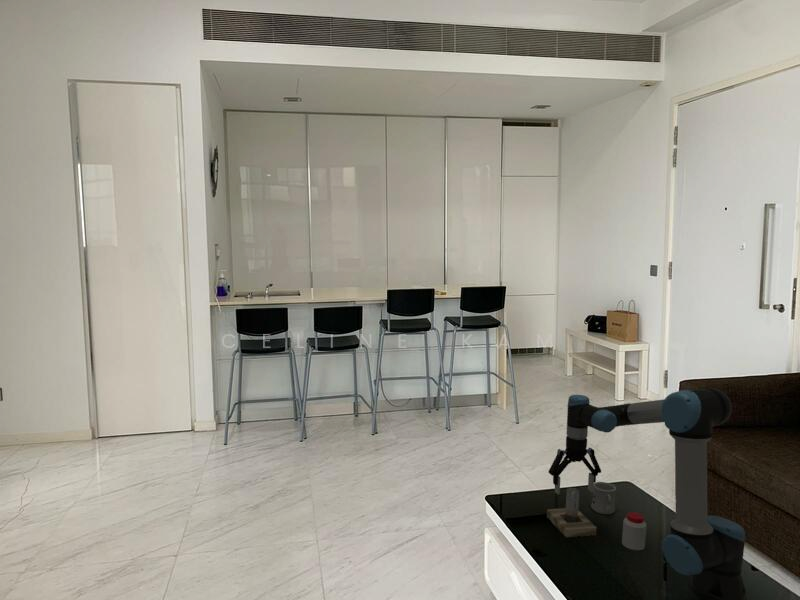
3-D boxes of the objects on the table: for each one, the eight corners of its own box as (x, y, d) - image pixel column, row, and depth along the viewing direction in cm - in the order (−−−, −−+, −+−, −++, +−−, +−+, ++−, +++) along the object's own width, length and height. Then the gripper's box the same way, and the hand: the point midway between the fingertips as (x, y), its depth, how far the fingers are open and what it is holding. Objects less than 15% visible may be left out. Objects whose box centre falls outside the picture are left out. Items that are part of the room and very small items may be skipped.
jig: (596, 535, 219) (596, 527, 218) (565, 537, 216) (566, 529, 216) (575, 514, 234) (575, 507, 234) (546, 516, 232) (547, 509, 232)
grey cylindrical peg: (579, 528, 224) (581, 492, 222) (568, 529, 223) (570, 493, 221) (573, 522, 228) (575, 487, 227) (562, 523, 227) (564, 488, 226)
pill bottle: (646, 551, 208) (649, 521, 207) (623, 548, 210) (625, 519, 209) (642, 540, 216) (644, 511, 215) (620, 538, 217) (622, 509, 216)
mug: (588, 504, 244) (589, 480, 243) (610, 505, 244) (612, 482, 243) (597, 518, 232) (598, 494, 231) (620, 519, 232) (622, 495, 230)
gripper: (602, 432, 228) (599, 485, 230) (541, 434, 223) (538, 489, 225) (612, 438, 220) (609, 493, 222) (549, 441, 215) (547, 497, 217)
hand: (573, 491), depth 224 cm, fingers open, 13 cm apart
